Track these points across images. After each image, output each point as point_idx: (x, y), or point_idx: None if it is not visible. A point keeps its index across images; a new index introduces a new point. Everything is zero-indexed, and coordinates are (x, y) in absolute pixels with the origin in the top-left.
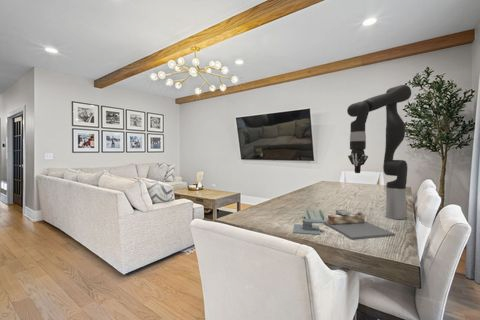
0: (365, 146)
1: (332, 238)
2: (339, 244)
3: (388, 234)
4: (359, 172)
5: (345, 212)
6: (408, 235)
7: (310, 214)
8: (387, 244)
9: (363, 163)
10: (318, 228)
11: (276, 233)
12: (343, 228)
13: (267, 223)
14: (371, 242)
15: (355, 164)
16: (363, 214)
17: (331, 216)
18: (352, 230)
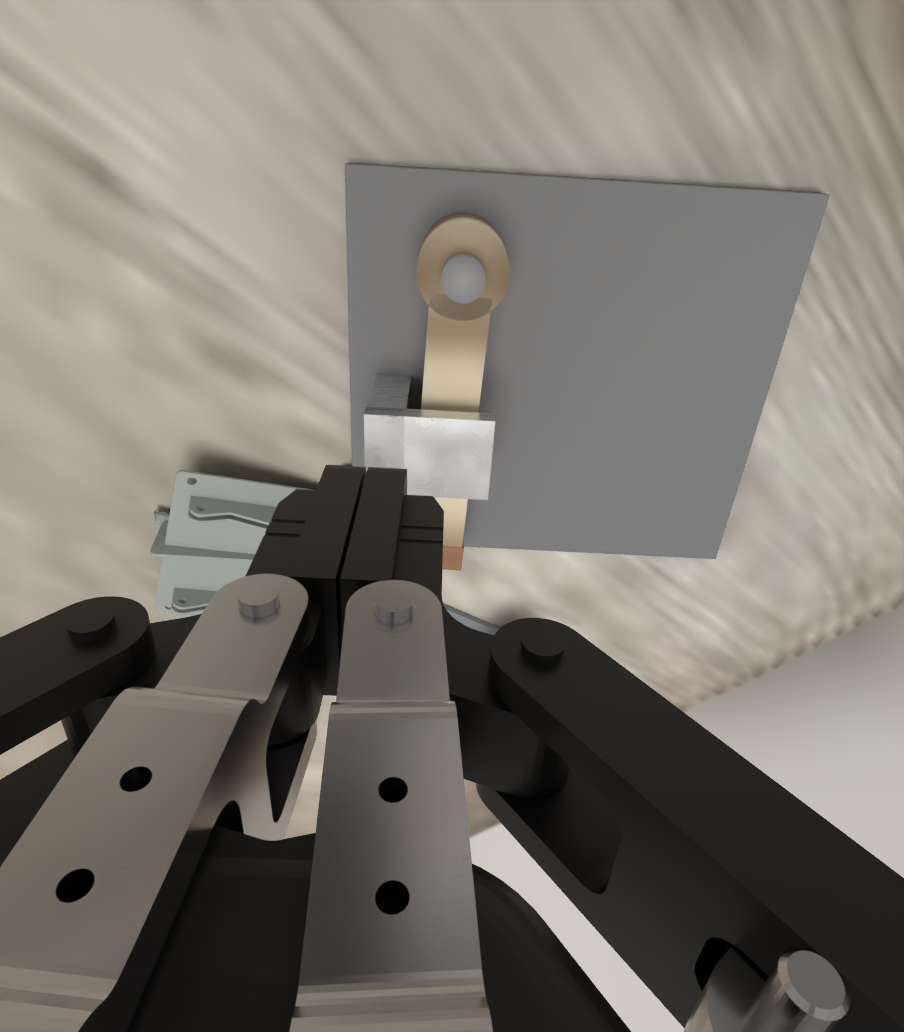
0: None
1: (643, 631)
2: (728, 644)
3: (805, 264)
4: (404, 490)
5: (471, 467)
6: (887, 44)
7: (221, 579)
8: (883, 403)
9: (611, 695)
10: (481, 628)
11: (469, 814)
12: (558, 503)
13: (298, 805)
14: (804, 473)
15: (311, 738)
16: (468, 224)
17: (443, 560)
18: (618, 472)
